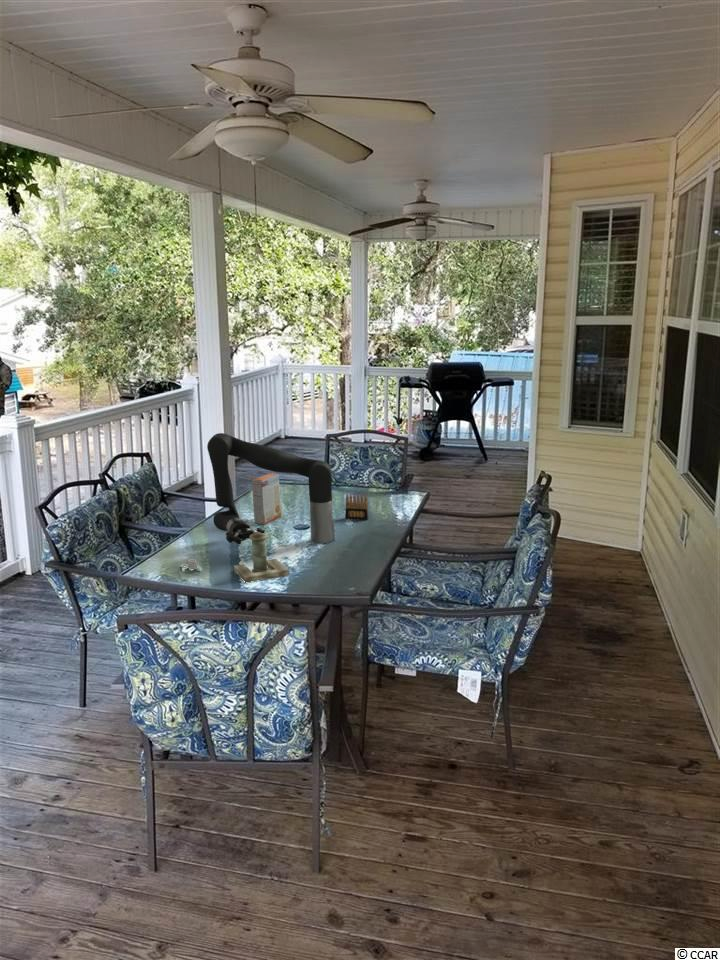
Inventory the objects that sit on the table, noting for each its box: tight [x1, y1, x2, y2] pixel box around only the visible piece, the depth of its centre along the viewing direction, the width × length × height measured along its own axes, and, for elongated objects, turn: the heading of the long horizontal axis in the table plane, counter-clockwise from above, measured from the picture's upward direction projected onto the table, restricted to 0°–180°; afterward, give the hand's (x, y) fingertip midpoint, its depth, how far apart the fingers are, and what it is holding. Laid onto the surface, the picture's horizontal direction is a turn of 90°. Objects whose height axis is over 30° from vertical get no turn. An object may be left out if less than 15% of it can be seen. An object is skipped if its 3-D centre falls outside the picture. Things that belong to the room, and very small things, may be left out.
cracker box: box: [251, 472, 282, 525], centre depth 322 cm, size 14×6×21 cm, turn 152°
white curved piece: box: [179, 558, 199, 569], centre depth 261 cm, size 9×8×4 cm
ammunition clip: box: [344, 493, 369, 521], centre depth 323 cm, size 11×2×12 cm, turn 76°
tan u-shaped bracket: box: [233, 558, 290, 584], centre depth 257 cm, size 16×14×2 cm
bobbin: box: [249, 532, 270, 573], centre depth 256 cm, size 6×6×14 cm
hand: (251, 540), depth 264 cm, fingers open, 8 cm apart
